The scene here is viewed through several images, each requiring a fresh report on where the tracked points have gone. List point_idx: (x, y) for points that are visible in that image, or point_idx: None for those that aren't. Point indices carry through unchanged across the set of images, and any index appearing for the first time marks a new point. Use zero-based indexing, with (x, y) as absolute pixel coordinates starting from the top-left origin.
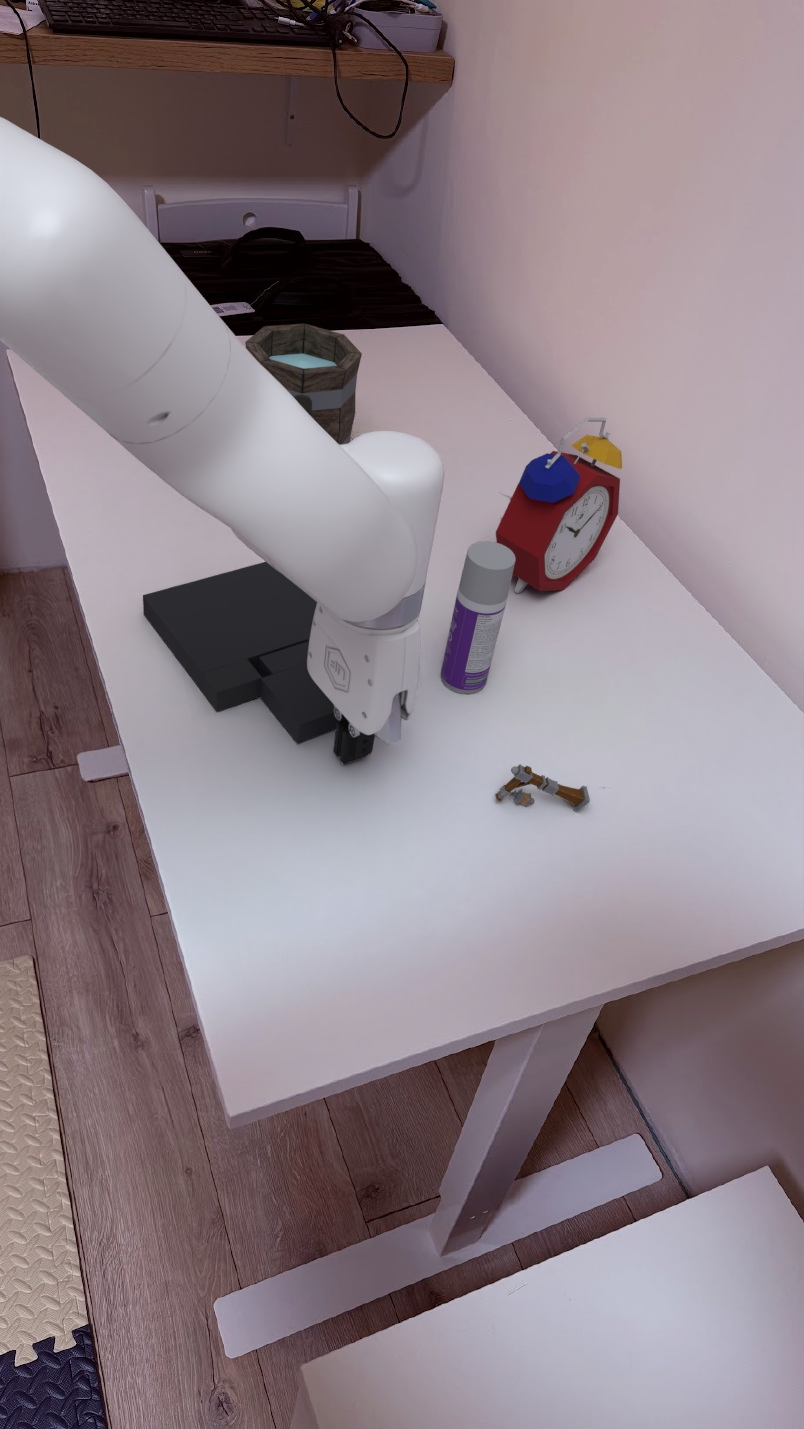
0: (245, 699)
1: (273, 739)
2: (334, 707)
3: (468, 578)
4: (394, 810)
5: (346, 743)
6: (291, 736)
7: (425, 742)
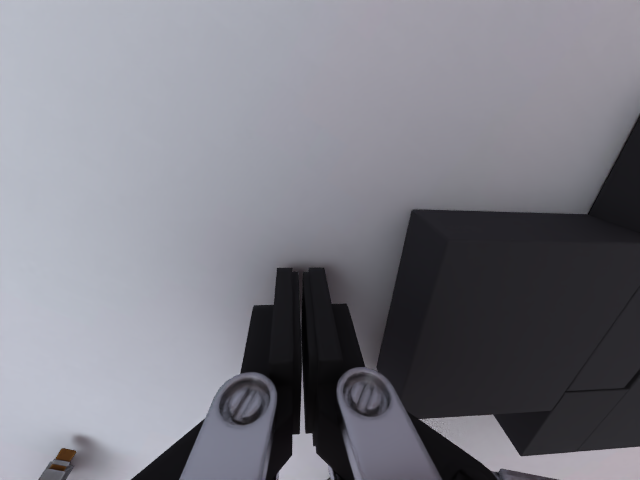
0: (622, 175)
1: (466, 165)
2: (396, 409)
3: None
4: (107, 290)
5: (272, 325)
6: (440, 210)
7: None
